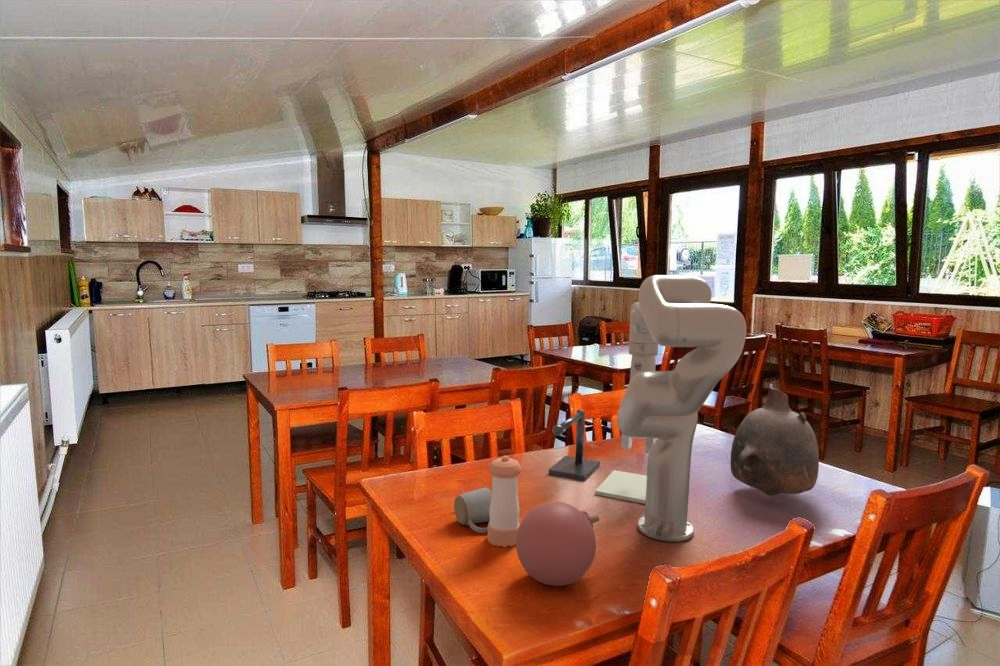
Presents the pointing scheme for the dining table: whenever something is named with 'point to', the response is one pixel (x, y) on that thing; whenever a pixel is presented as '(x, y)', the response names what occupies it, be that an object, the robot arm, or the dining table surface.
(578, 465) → the stand
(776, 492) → the jug
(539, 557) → the balloon
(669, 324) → the robot arm
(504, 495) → the salt shaker
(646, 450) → the stepped metal block
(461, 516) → the ceramic mug
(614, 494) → the mat
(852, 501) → the dining table surface
